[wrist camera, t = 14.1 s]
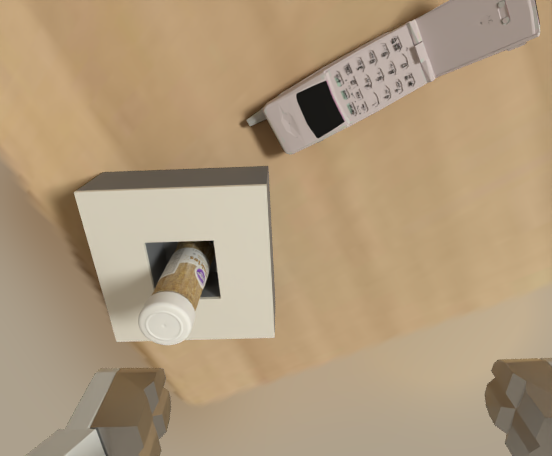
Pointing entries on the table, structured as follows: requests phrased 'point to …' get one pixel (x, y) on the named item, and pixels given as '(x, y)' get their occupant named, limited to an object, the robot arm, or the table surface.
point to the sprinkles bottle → (177, 294)
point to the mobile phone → (396, 67)
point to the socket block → (184, 227)
